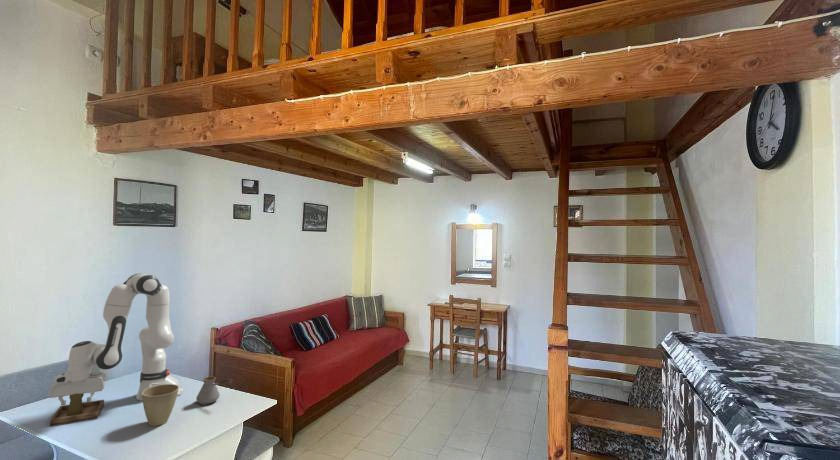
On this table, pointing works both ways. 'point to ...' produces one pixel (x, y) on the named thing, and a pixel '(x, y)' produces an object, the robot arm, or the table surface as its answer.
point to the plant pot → (159, 403)
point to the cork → (75, 405)
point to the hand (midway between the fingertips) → (76, 402)
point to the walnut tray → (89, 412)
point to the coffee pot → (209, 391)
